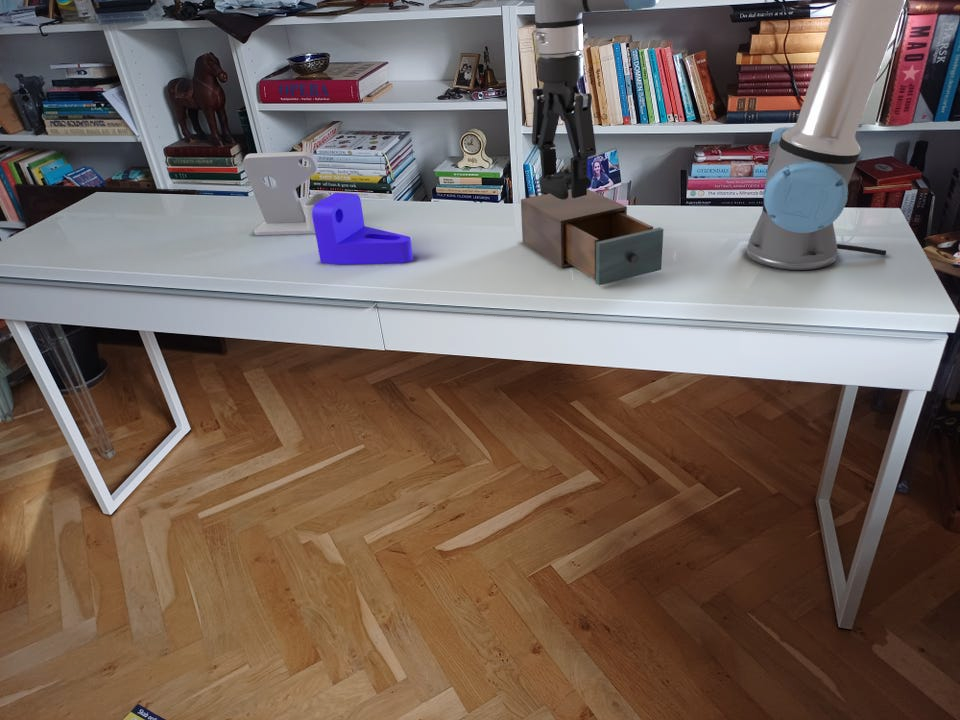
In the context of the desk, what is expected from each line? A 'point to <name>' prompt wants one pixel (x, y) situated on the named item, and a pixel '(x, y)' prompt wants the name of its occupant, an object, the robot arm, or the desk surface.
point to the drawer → (613, 247)
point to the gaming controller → (558, 184)
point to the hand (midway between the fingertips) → (564, 190)
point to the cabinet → (559, 220)
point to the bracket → (354, 235)
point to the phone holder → (282, 191)
